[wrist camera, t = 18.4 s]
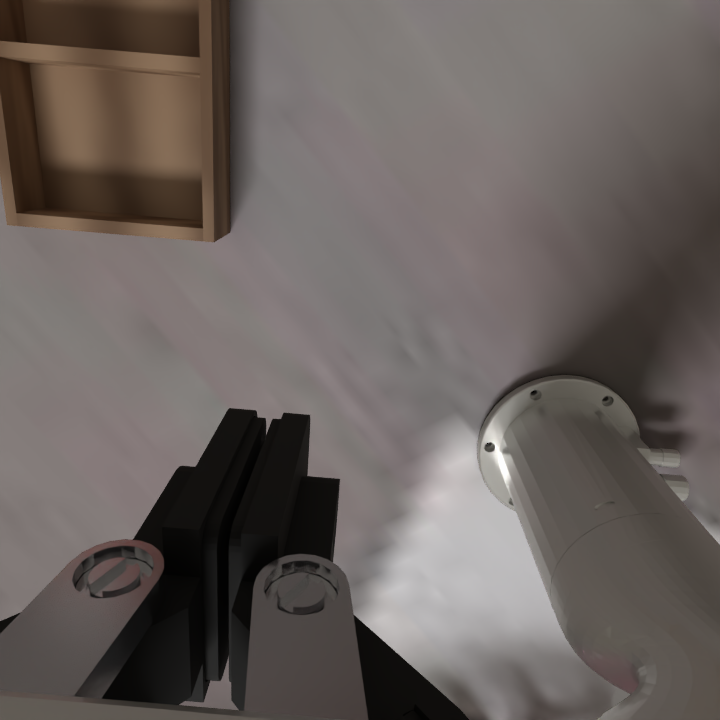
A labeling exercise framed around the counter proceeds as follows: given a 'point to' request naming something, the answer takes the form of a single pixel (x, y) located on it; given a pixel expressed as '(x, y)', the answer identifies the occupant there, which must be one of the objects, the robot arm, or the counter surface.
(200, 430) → the counter surface
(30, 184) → the rack
